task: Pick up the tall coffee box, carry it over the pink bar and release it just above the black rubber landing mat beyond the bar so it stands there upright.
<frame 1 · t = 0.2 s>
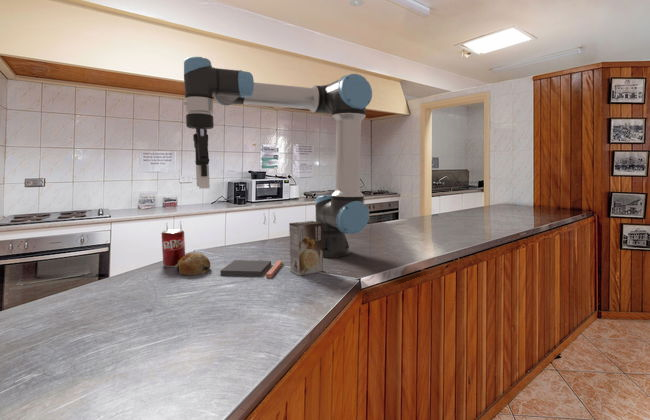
hand: (202, 187, 105), 28 cm above the countertop, fingers open, 13 cm apart
pink bar: (274, 270, 116), on the countertop
landing mat: (247, 269, 117), on the countertop
bread roll: (193, 272, 116), on the countertop
soda can: (174, 265, 123), on the countertop
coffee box: (306, 271, 115), on the countertop
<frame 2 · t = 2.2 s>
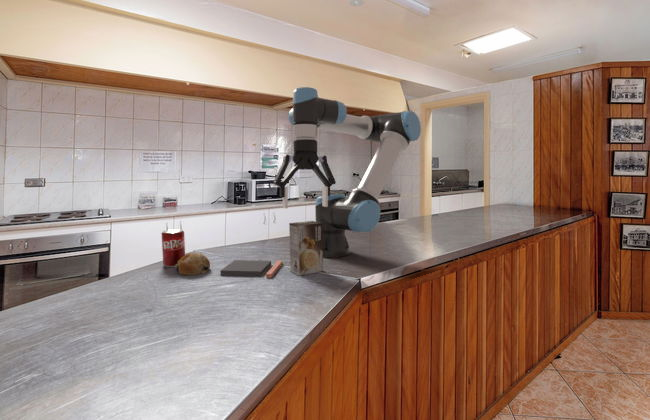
hand: (305, 207, 113), 21 cm above the countertop, fingers open, 13 cm apart
nothing on the countertop moved.
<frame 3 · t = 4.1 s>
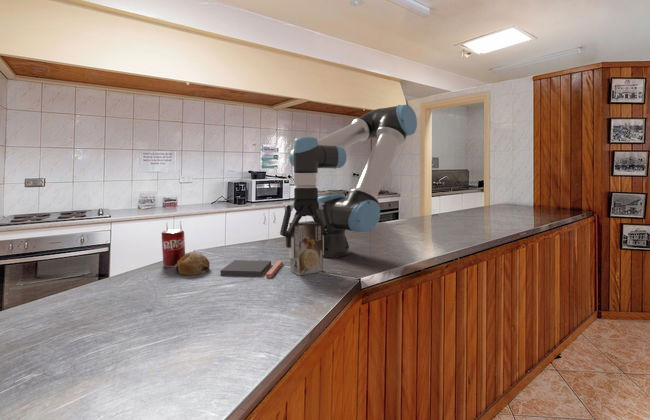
hand: (306, 255, 115), 5 cm above the countertop, fingers closed on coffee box, 10 cm apart
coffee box: (306, 271, 115), on the countertop, touching gripper
everything else where it was.
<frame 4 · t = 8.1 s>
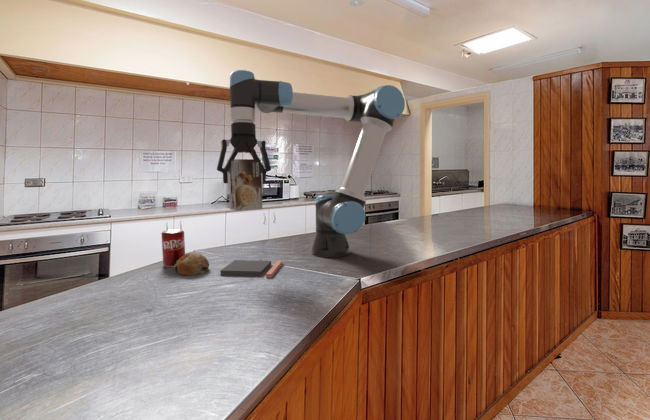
hand: (245, 193, 114), 25 cm above the countertop, fingers closed on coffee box, 10 cm apart
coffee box: (245, 209, 115), point 20 cm above the countertop, touching gripper
everything else where it was.
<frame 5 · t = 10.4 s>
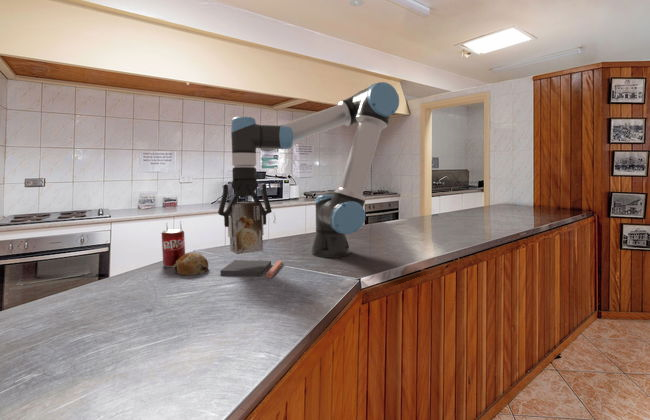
hand: (245, 235, 116), 12 cm above the countertop, fingers closed on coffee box, 10 cm apart
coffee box: (246, 251, 116), point 6 cm above the countertop, touching gripper
everything else where it was.
when the fingers open (9 cm above the countertop, at t = 12.1 s): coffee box drops 2 cm, resting on landing mat.
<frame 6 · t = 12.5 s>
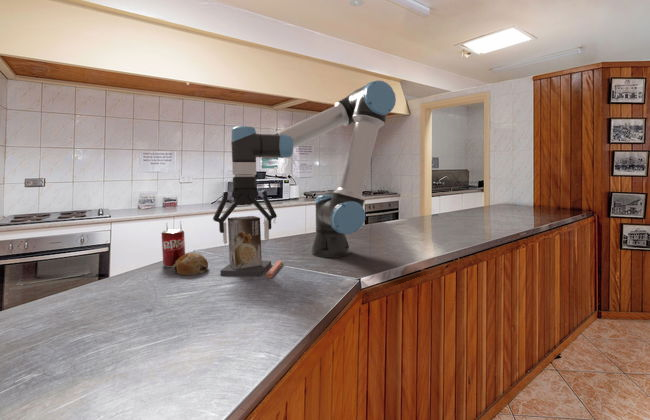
hand: (246, 241, 116), 10 cm above the countertop, fingers open, 13 cm apart
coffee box: (245, 266, 117), point 1 cm above the countertop, touching landing mat
everything else where it was.
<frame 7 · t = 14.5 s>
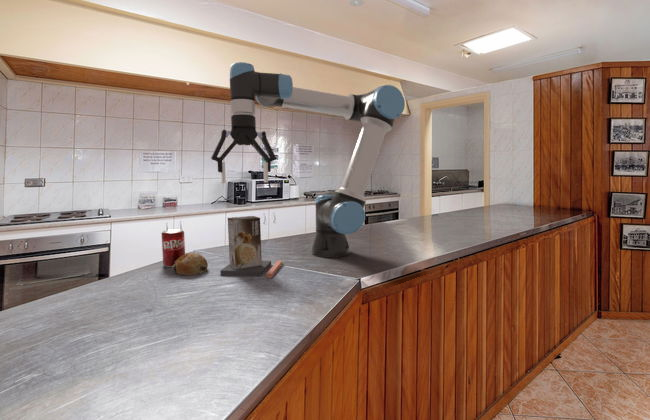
hand: (245, 182, 114), 29 cm above the countertop, fingers open, 13 cm apart
nothing on the countertop moved.
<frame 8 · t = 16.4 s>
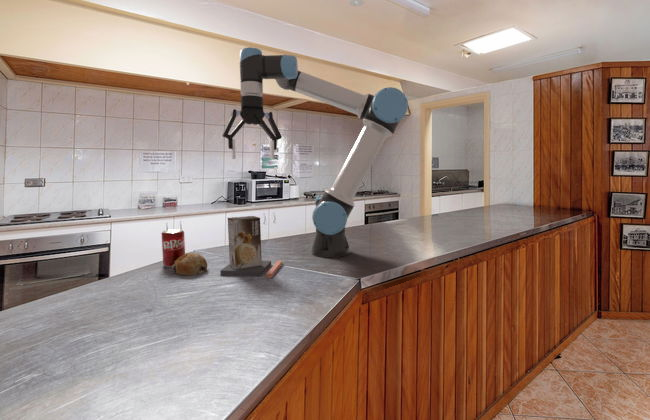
hand: (253, 159, 124), 37 cm above the countertop, fingers open, 13 cm apart
at the end: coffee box 0.5 cm from the landing mat (horizontally); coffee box tilted 0°; the gripper is holding nothing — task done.
